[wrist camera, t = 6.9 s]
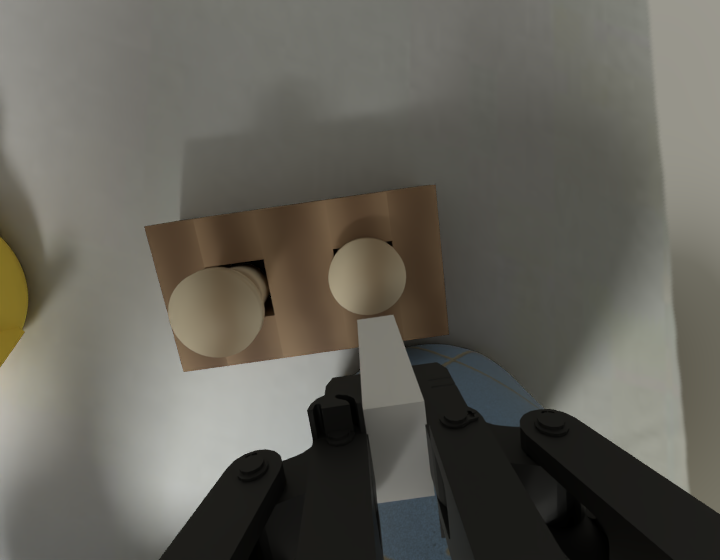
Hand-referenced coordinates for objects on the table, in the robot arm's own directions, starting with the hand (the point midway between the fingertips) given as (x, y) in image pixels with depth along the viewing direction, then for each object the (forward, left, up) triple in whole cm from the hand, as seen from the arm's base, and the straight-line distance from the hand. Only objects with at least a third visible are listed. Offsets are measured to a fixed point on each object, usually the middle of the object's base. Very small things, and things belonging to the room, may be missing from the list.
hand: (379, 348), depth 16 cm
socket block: (-5, 0, -20) cm, 21 cm away
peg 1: (-10, 0, -16) cm, 19 cm away
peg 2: (0, 0, -20) cm, 20 cm away
